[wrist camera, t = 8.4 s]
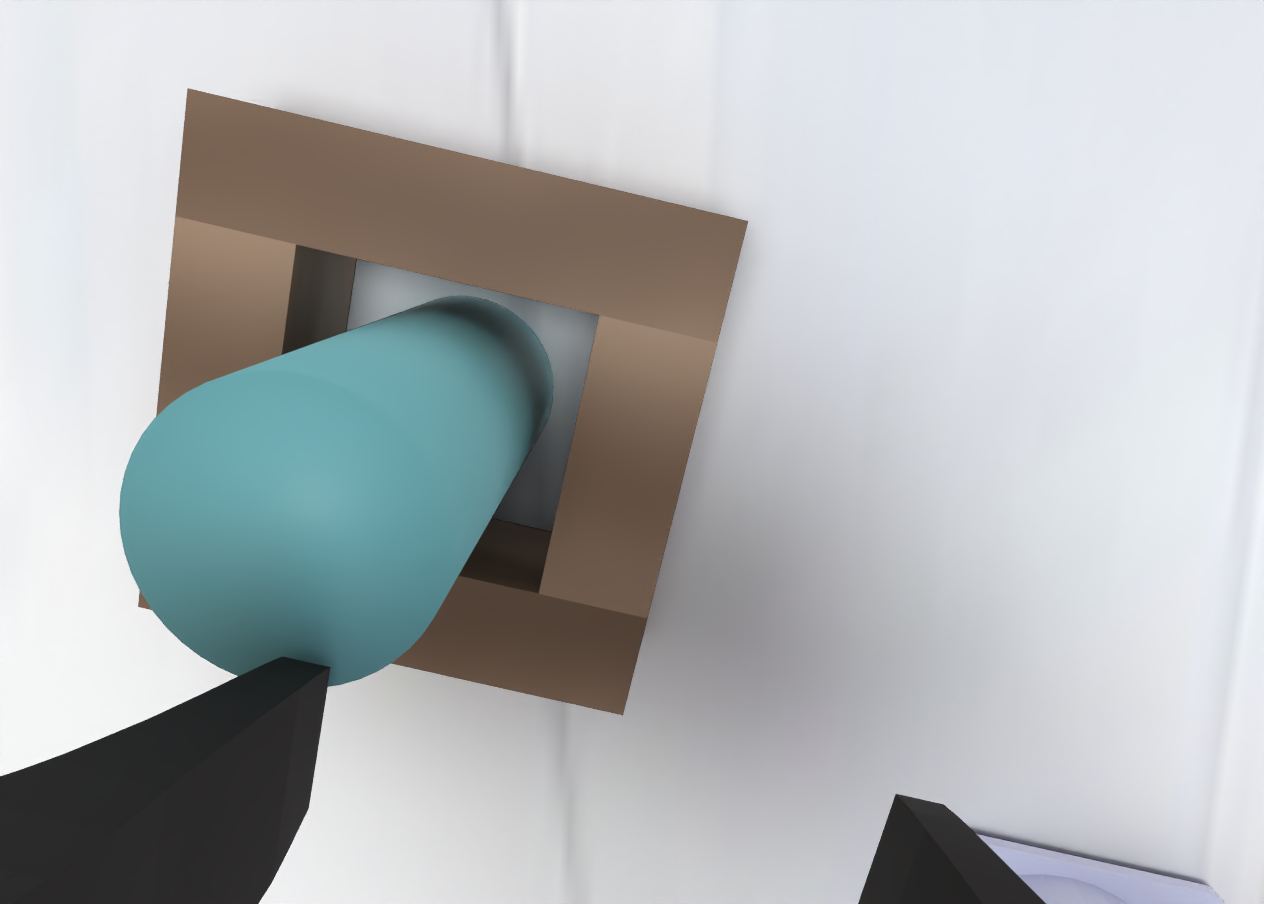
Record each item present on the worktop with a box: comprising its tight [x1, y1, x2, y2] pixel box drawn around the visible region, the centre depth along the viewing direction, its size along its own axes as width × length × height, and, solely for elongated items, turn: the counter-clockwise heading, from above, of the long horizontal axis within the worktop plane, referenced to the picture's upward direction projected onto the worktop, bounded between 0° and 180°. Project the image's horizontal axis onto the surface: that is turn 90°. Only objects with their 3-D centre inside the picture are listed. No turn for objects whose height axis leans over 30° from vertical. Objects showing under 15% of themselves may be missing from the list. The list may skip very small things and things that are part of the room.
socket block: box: [138, 89, 748, 715], centre depth 19 cm, size 10×10×4 cm
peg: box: [119, 296, 553, 687], centre depth 16 cm, size 4×4×10 cm
